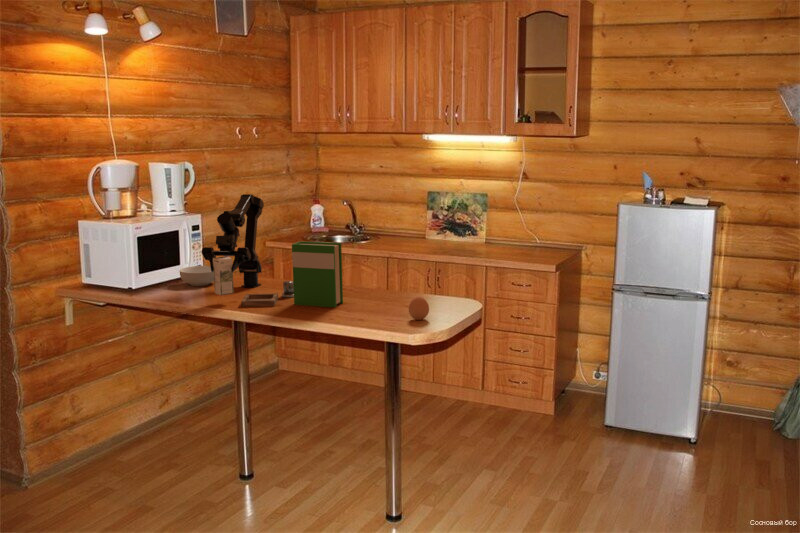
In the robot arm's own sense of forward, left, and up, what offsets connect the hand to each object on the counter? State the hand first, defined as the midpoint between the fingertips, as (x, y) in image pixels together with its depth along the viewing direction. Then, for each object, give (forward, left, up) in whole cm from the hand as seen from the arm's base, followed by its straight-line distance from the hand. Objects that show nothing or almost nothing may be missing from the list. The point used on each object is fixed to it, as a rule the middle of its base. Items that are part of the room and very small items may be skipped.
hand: (221, 271), depth 305 cm
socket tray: (-7, +12, -13) cm, 19 cm away
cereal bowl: (-29, -33, -13) cm, 46 cm away
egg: (-3, +81, -13) cm, 82 cm away
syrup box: (-1, 0, -9) cm, 10 cm away
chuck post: (-21, +17, -13) cm, 30 cm away
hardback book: (-13, +35, -13) cm, 40 cm away
